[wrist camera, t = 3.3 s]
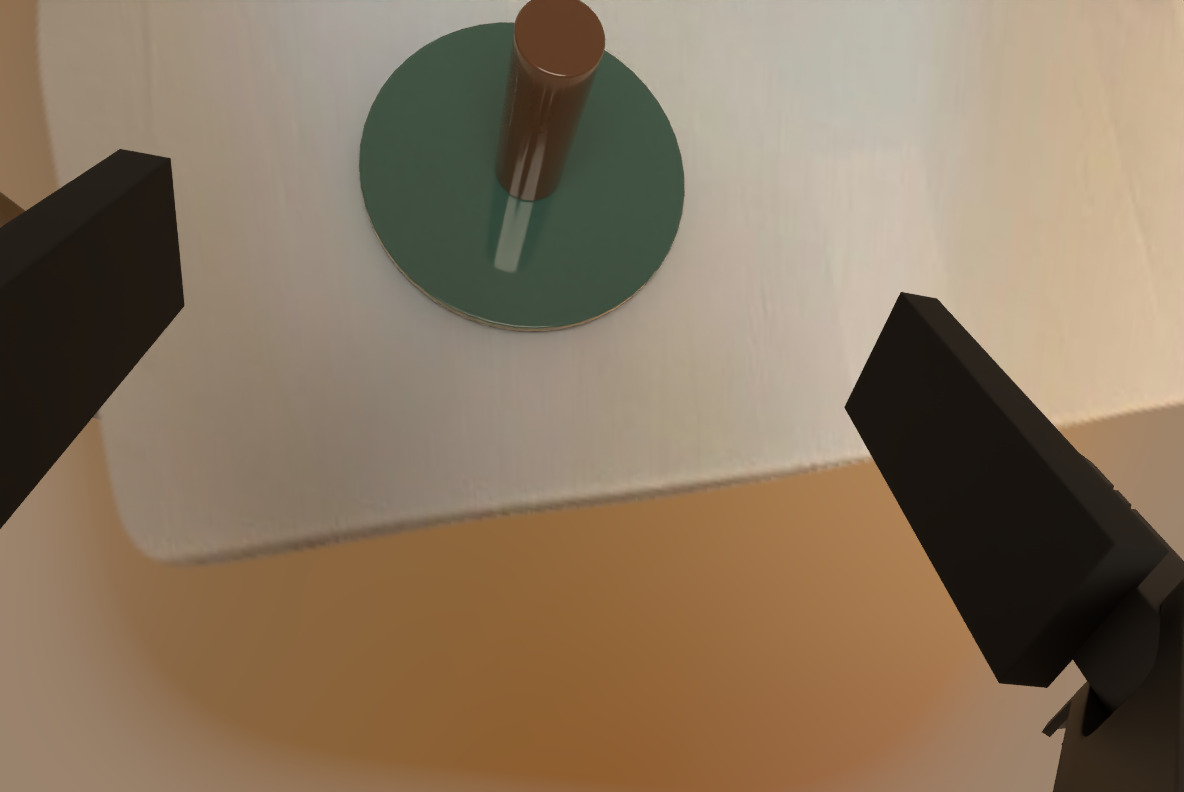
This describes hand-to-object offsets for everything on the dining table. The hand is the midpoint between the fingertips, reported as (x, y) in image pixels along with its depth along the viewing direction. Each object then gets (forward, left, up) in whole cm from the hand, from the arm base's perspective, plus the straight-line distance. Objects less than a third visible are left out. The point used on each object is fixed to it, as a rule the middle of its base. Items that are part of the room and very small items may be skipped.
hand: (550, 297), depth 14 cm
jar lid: (-1, +10, -17) cm, 20 cm away
